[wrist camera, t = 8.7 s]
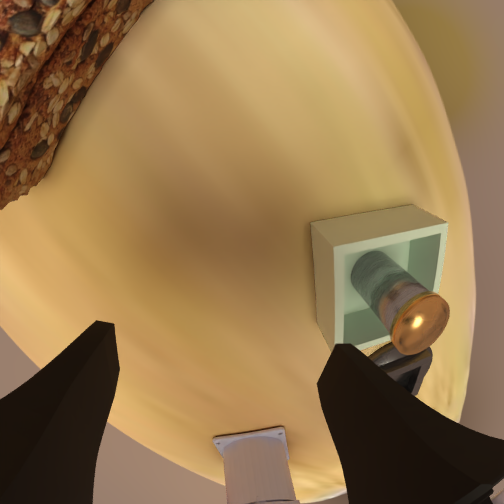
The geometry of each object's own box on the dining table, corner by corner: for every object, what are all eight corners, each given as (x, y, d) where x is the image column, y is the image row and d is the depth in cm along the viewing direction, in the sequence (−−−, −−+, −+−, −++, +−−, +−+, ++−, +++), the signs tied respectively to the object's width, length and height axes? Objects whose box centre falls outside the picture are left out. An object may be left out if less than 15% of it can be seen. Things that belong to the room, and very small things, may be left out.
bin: (405, 297, 22) (431, 325, 18) (316, 322, 22) (334, 358, 18) (412, 204, 19) (448, 222, 15) (310, 222, 18) (333, 246, 15)
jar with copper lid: (397, 248, 19) (457, 295, 13) (386, 293, 21) (435, 349, 14) (353, 247, 19) (409, 301, 12) (343, 296, 20) (387, 359, 14)
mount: (417, 385, 28) (425, 397, 26) (343, 412, 28) (349, 427, 26) (436, 324, 24) (448, 337, 22) (350, 355, 24) (359, 371, 22)
